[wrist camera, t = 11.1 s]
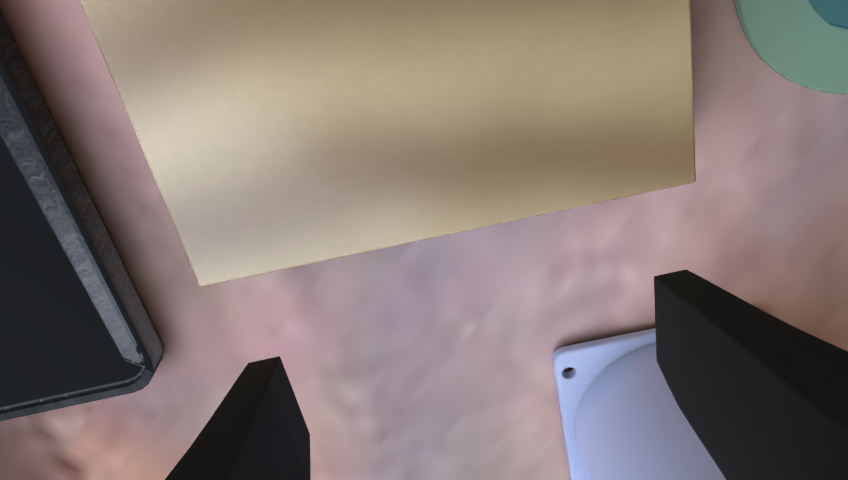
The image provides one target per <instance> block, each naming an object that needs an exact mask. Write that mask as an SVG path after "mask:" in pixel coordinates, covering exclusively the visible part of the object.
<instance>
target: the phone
mask: <svg viewBox="0 0 848 480" xmlns="http://www.w3.org/2000/svg"><path fill="white" fill-rule="evenodd" d="M162 355H163V349H162V345H161V342H160V340H159V338H158V336H157V334H156V332H155V330H154V328H153V325H152V323H151V321H150V319H149V317H148V315H147V313H146V311H145V309H144V307H143V305H142V303H141V301H140V299H139V297H138V295H137V292H136V290H135V288H134V286H133V284H132V282H131V280H130V278H129V276H128V274H127V272H126V270H125V268H124V266H123V264H122V262H121V259H120V257H119V255H118V253H117V251H116V249H115V247H114V245H113V243H112V241H111V239H110V237H109V235H108V233H107V231H106V229H105V226H104V224H103V222H102V220H101V218H100V216H99V214H98V212H97V210H96V208H95V206H94V204H93V202H92V200H91V198H90V195H89V193H88V191H87V189H86V187H85V185H84V183H83V181H82V179H81V177H80V175H79V173H78V171H77V169H76V167H75V165H74V162H73V160H72V158H71V156H70V154H69V152H68V150H67V148H66V146H65V144H64V142H63V140H62V138H61V136H60V134H59V132H58V129H57V127H56V125H55V123H54V121H53V119H52V117H51V115H50V113H49V111H48V109H47V107H46V105H45V103H44V101H43V99H42V96H41V94H40V92H39V90H38V88H37V86H36V84H35V82H34V80H33V78H32V76H31V74H30V72H29V70H28V68H27V66H26V63H25V61H24V59H23V57H22V55H21V53H20V51H19V49H18V47H17V45H16V43H15V41H14V39H13V37H12V35H11V33H10V30H9V28H8V26H7V24H6V22H5V20H4V18H3V16H2V14H1V12H0V421H3V420H8V419H12V418H17V417H22V416H26V415H31V414H36V413H40V412H45V411H49V410H54V409H59V408H63V407H68V406H73V405H77V404H82V403H87V402H91V401H96V400H101V399H105V398H110V397H114V396H119V395H124V394H128V393H133V392H136V391H138V390H141V389H143V388H144V387H145V386H146V385H148V384H149V382H150V380H151V379H152V377H153V375H154V373H155V371H156V369H157V367H158V365H159V363H160V361H161V360H162Z"/></svg>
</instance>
